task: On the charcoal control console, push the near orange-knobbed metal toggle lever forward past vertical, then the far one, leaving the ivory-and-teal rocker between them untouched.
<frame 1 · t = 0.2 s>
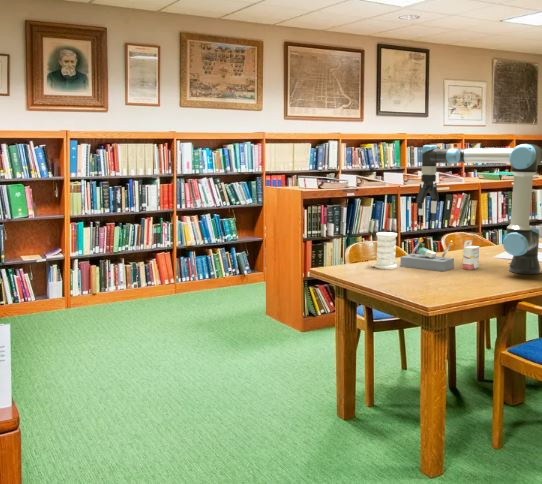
hand: (427, 214, 345), 28 cm above the table, fingers open, 13 cm apart
lever far: (418, 243, 344), point 12 cm above the table, hinge at -30.0°
lever near: (449, 246, 334), point 12 cm above the table, hinge at -30.0°
rocker mid: (427, 252, 342), point 8 cm above the table, hinge at -15.0°
decorative container: (385, 267, 342), on the table
console: (426, 266, 343), on the table
ink cartridge box: (470, 268, 339), on the table
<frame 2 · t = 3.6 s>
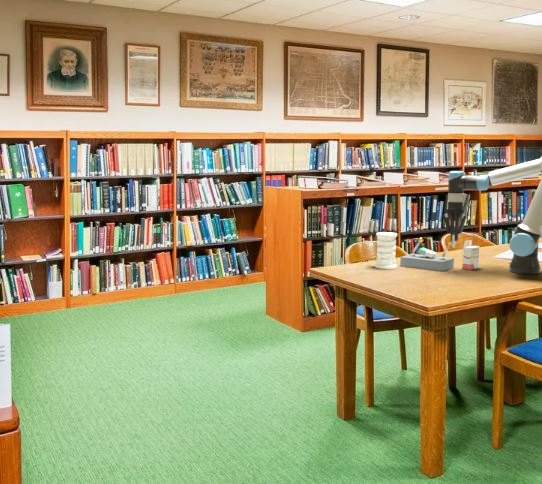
hand: (453, 246, 332), 12 cm above the table, fingers closed
lever near: (449, 245, 334), point 12 cm above the table, hinge at -28.1°, touching gripper
everything else where it was.
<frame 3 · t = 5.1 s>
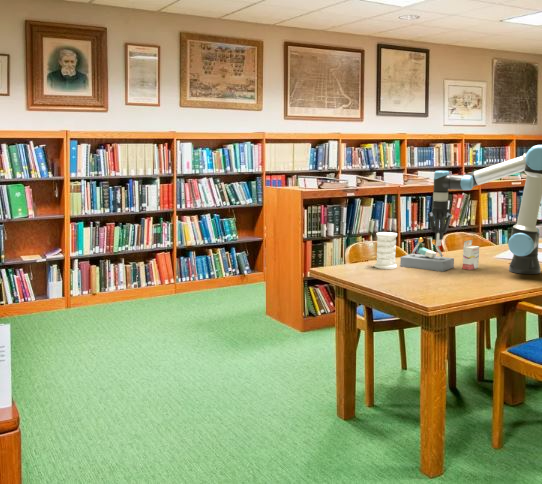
hand: (438, 245, 337), 12 cm above the table, fingers closed
lever near: (435, 245, 338), point 12 cm above the table, hinge at 33.5°, touching gripper
everything else where it was.
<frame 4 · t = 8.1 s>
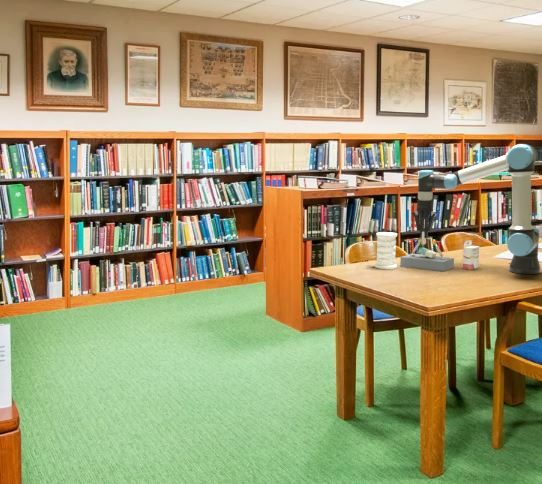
hand: (423, 243, 342), 12 cm above the table, fingers closed
lever far: (418, 243, 344), point 12 cm above the table, hinge at -29.5°, touching gripper
lever near: (435, 245, 338), point 12 cm above the table, hinge at 33.6°
everything else where it was.
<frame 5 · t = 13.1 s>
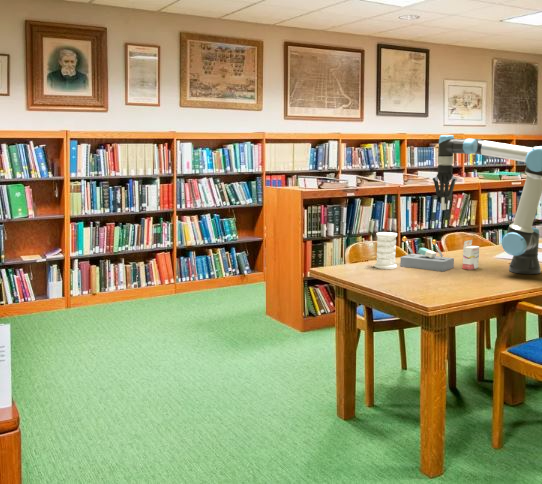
hand: (443, 209, 341), 30 cm above the table, fingers closed
lever far: (406, 242, 348), point 12 cm above the table, hinge at 33.4°
everything else where it was.
at the end: lever near at +34° (first picture: -30°); lever far at +33° (first picture: -30°); rocker mid at -15° (first picture: -15°) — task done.
